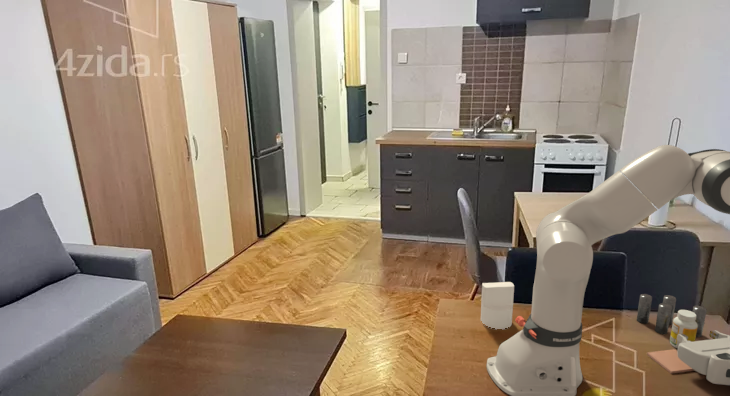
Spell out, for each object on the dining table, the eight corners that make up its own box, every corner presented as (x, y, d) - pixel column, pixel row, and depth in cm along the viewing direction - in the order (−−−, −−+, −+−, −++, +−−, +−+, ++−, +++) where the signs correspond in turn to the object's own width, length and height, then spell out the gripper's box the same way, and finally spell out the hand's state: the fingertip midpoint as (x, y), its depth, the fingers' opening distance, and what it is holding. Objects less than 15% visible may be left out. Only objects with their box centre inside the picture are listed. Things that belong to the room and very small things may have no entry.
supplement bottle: (666, 344, 123) (671, 312, 120) (673, 337, 126) (679, 306, 124) (689, 353, 119) (695, 320, 116) (696, 346, 122) (702, 313, 119)
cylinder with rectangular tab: (505, 313, 141) (507, 277, 138) (516, 328, 132) (519, 291, 129) (476, 314, 141) (478, 278, 137) (485, 330, 132) (487, 292, 129)
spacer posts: (665, 341, 124) (670, 314, 122) (634, 318, 136) (637, 294, 134) (704, 336, 126) (709, 310, 124) (670, 315, 138) (674, 290, 135)
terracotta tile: (670, 373, 111) (671, 371, 111) (646, 354, 119) (646, 352, 119) (699, 369, 112) (700, 367, 112) (673, 351, 120) (674, 349, 120)
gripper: (788, 350, 105) (733, 319, 118) (710, 360, 102) (662, 327, 115) (782, 374, 106) (728, 341, 120) (705, 384, 104) (658, 349, 117)
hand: (695, 334), depth 117 cm, fingers open, 8 cm apart
